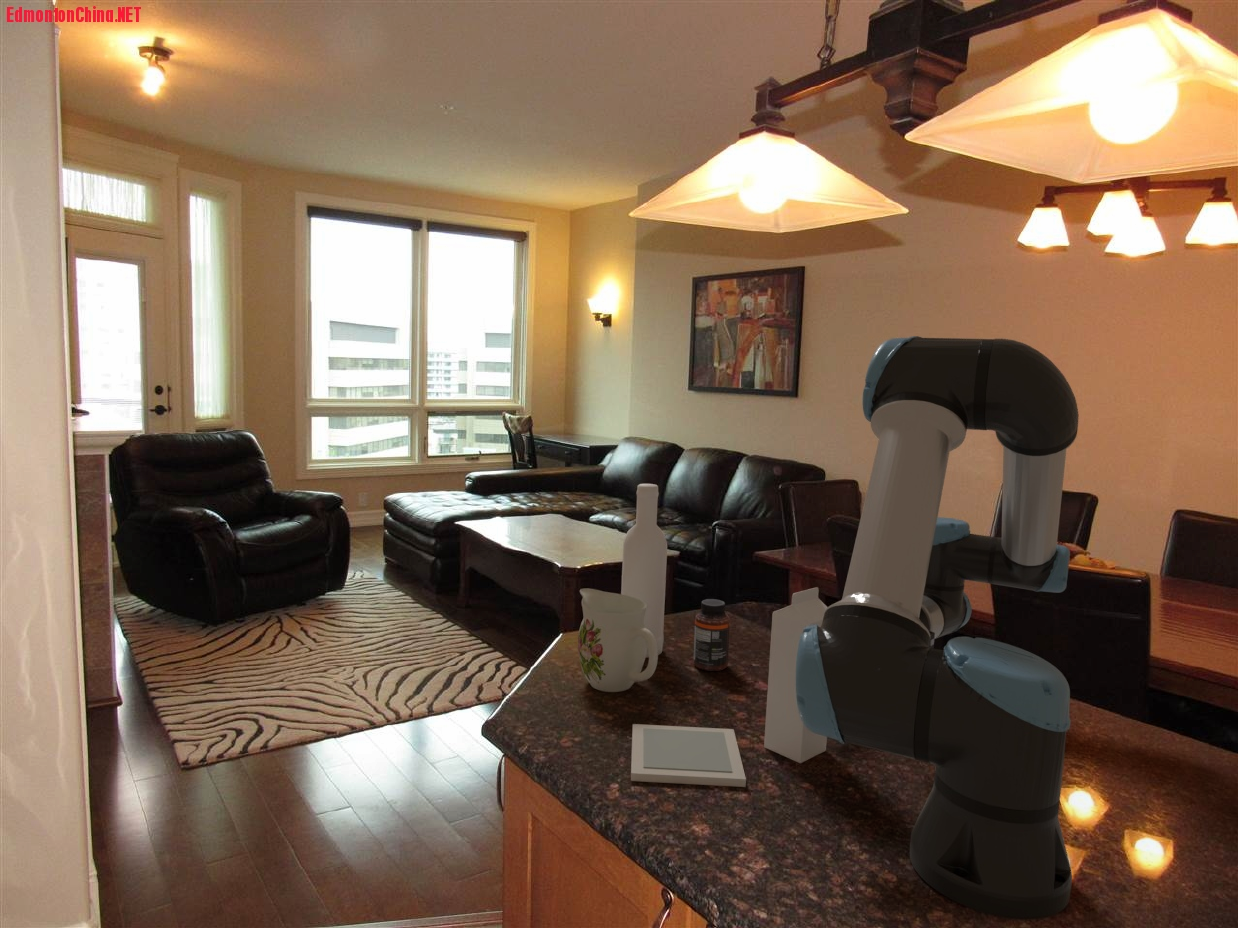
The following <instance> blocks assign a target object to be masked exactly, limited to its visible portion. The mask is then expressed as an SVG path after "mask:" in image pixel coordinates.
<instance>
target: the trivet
mask: <svg viewBox="0 0 1238 928" xmlns="http://www.w3.org/2000/svg"><path fill="white" fill-rule="evenodd" d="M631 735H632V736H631V763H630V764H631V766H630V782H642V783H643V782H644V783H645V782H647V783H660V784H661V783H664V784H680V785H681V784H682V785H683V784H684V785H701V786H703V785H704V786H716V787H717V786H719V787H735V788H736V787H738V788H740V787H741V788H746V785H747V782H746V781H747V777H746V775H745V771H744V766H743V762H742V758H741V753H740V750H739V746H738V743H737V737H736V734H735V730H734V728H719V727H718V728H714V727H713V728H712V727H700V726H699V727H695V726H679V725H659V724H658V725H657V724H640V723H637V724H636V723H632V734H631Z"/></svg>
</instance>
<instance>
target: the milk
mask: <svg viewBox="0 0 1238 928" xmlns="http://www.w3.org/2000/svg"><path fill="white" fill-rule="evenodd" d="M819 589H820V588H819V587H818V586H817V587H813V588H809V589H805V590H801V591H798V592H794V593H792V596H791V604H790V605H788V606H785V607H783V608H781V609H777V610H774V611H772V616H771V617H772V619H771V632H770V648H769V649H770V650H769V661H768V663H769V664H768V676H767V677H768V679H767V680H768V681H767V696H766V711H765V725H764V728H765V729H764V740H763V741H764V744H763V748H765V749H767V750H769V751H771V752H774V753H776V754H779V756H783V757H786V758H787V759H789V760H791V761H794V762H796V763H799V764H803V763H804V762H807V761H808V760H810V759H813V758H814V757H816V756H819V755H820V754H822V753H824V752H826V751H827V743H828V742H827V741H828V737H825V736H822V735H819V734H816V733H813V732H811V731H810V730H809V729H807V728H806V726H805V725H804V724H803V722H802V720H801V718H800V715H799V711H798V706H797V699H796V660H797V652H798V645H799V641H800V637H801V635H802V634H803V630H804V629H805V627H807V626H812V625H814V624H815V625H818V626H819V627H821V625H822V622H823V618H824V613H825V610H826V609H827V608H828V607H829V606H827V605H826V604H825V603H824V602H823V601H822V600H821V599H820V598H819Z"/></svg>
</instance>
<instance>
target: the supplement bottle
mask: <svg viewBox="0 0 1238 928" xmlns="http://www.w3.org/2000/svg"><path fill="white" fill-rule="evenodd" d="M700 606H701V607H700V611H699V612H698V613H697V614H696V615H695V618H694V639H693V642H694V643H693V649H692V650H693V665H694V667H696V668H698V669H700V670H701V671H706V672H707V671H708V672H719V671H723V670H725V669H726V668H727V667H728V665H729V652H730V651H729V649H730V629H731V618H730V616H729V615H728V614H727V613H726V603H725V601H723V600H720V599H716V598H715V599H714V598H706V599H703V600H702V601H701V605H700Z"/></svg>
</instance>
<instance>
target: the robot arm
mask: <svg viewBox="0 0 1238 928" xmlns="http://www.w3.org/2000/svg"><path fill="white" fill-rule="evenodd" d="M864 381H865V385H864V388H863V390H862V411H863V415H864V418H865V419H866V421H867V422H869V423H870V429H871V430H872V432H873V434H874V435H875V436H876V438H877V439H878V443H877V446H876V450H875V453H874V460H873V463H872V468H871V472H870V477H869V481H868V485H867V490H866V495H865V498H864V501H863V502H864V503H863V508H862V511H861V516H860V520H859V523H858V529H857V533H856V537H855V542H854V546H853V551H852V555H851V559H850V563H849V568H848V571H847V577H846V581H845V584H844V588H843V589H844V590H843V593H842V598H841V600H838V601H836V602H835V603H832V604H831V605H829V606H827V607H828V608H827V609H826V610H825V613H824V618H823V622H822V625H821V627H819V626H818V625H815V624H814V625H812V626H807V627H805V629H804V630H803V634H802V635H801V637H800V641H799V645H798V652H797V660H796V699H797V706H798V711H799V715H800V718H801V720H802V722H803V724H804V725H805V726H806V728H807V729H809V730H810V731H811V732H813V733H816V734H819V735H822V736H825V737H827V738H828V739H833V740H836V741H838V742H839V743H840V744H843V745H845V744H846V743H847V744H852V745H854V746H858V747H863V748H867V749H871V750H875V751H879V752H883V753H887V754H890V755H895V756H899V757H904V758H908V759H911V760H914V761H919V762H922V763H923V762H924V763H926V764H931V765H934V777H933V785H932V788H931V791H930V792H929V794H928V796H927V799H926V800H925V802H924V804H923V807H922V809H921V810H920V813H919V815H918V817H917V819H916V821H915V823H914V826H913V828H912V831H911V835H910V845H909V860H910V863H911V864H912V865H911V866H912V867H913V869H914V870H915V871H916V873H917V874H918V875H919V876H920V878H922V880H923V881H924V882H925V883H926V884H928V885H929V886H930V887H931V888H933V889H934V890H935V891H937V892H939V894H941V895H943V896H944V897H947V898H948V899H950V900H952V901H954V902H956V903H958V904H960V905H962V906H964V907H967V908H968V909H972V910H975V911H978V912H980V913H984V914H988V915H992V916H995V917H1002V918H1005V919H1007V918H1008V919H1014V920H1015V919H1016V920H1037V919H1045V918H1048V917H1052V916H1055V915H1057V914H1059V913H1060V912H1062V911H1064V910H1065V908H1066V907H1067V906H1068V905H1069V902H1070V899H1071V892H1072V891H1071V890H1072V883H1073V875H1072V874H1073V873H1072V869H1071V863H1070V861H1069V857H1068V853H1067V848H1066V844H1065V840H1064V836H1063V832H1062V828H1061V824H1060V820H1059V819H1060V818H1059V812H1060V811H1059V809H1060V801H1061V793H1062V792H1061V791H1062V783H1063V782H1062V781H1063V771H1064V770H1063V769H1064V763H1065V762H1064V761H1065V750H1066V749H1065V748H1066V740H1067V731H1069V730H1070V727H1071V725H1072V724H1071V723H1072V721H1071V717H1070V701H1071V700H1070V697H1071V690H1070V685H1069V683H1068V681H1067V678H1066V677H1065V676H1064V674H1063V672H1061V671H1060V670H1059V669H1058V668H1057V667H1056V666H1055V665H1053V664H1052V663H1050V662H1049V661H1047V660H1046V659H1044V658H1042V657H1041V656H1038V655H1037V654H1034V653H1032V652H1030V651H1027V650H1025V649H1023V648H1020V647H1018V646H1015V645H1011V644H1009V643H1006V642H1002V641H999V640H993V639H989V638H985V637H975V638H973V637H971V636H957V637H953V638H951V639H949V640H948V641H947V643H946V645H945V646H944V647H943V649H938V648H934V646H935V640H936V639H938V638H940V637H944V636H946V635H951V634H953V633H955V632H957V631H958V630H959V629H961V628H962V627H964V626H965V625H966V624H967V623H968V622H969V621H970V618H971V615H972V605H971V601H970V599H969V597H968V595H967V594H966V593H965V583H966V582H965V581H970V582H977V583H983V584H984V583H985V584H990V585H997V586H1004V587H1009V588H1017V589H1023V590H1028V591H1034V592H1037V593H1039V592H1046V593H1055V594H1056V593H1058V594H1059V593H1063V592H1064V591H1065V590H1066V589H1067V585H1068V584H1067V582H1068V574H1069V565H1070V557H1071V550H1070V548H1068V546H1065V545H1062V544H1058V536H1059V527H1060V515H1061V505H1062V498H1063V497H1062V496H1063V487H1064V486H1063V485H1064V476H1065V467H1066V458H1067V449H1069V448H1070V447H1071V446H1072V445H1073V444H1074V442H1075V441H1076V438H1077V435H1078V431H1079V429H1078V428H1079V410H1078V402H1077V400H1076V395H1075V394H1074V392H1073V390H1072V389H1073V388H1072V387H1071V385H1070V384H1069V381H1068V380H1067V379H1066V376H1065V375H1064V374H1063V373H1062V371H1061V370H1060V369H1059V367H1058V366H1057V365H1056V364H1055V363H1053V361H1052V360H1051V359H1049V358H1048V357H1047V356H1046V355H1045V354H1043V353H1042V352H1040V351H1039V350H1037V349H1036V348H1034V347H1033V346H1031V345H1028V344H1026V343H1024V342H1020V341H1018V340H1014V339H1008V338H958V337H957V338H954V337H953V338H952V337H947V338H946V337H921V336H919V335H917V336H916V335H913V336H912V335H911V336H909V337H894V338H890V339H889V338H888V339H887V340H885V341H883V342H882V343H881V344H880V345H879V346H878V347H877V348H876V350H875V351H874V353H873V355H872V357H871V360H870V362H869V365H868V367H867V371H866V374H865V377H864ZM967 430H975V431H992V432H993V431H994V433H995V437H996V439H997V440H998V442H999V443H1000V445H1001V446H1002V447H1003V452H1002V454H1003V455H1002V497H1001V498H1002V500H1001V502H1002V503H1001V537H998V536H997V537H995V536H991V535H990V536H989V535H984V534H983V535H982V534H981V535H980V534H975V533H971V530H970V529H971V528H970V524H969V523H968V522H967V521H965V520H962V519H956V518H953V517H944V516H943V517H939V513H940V506H941V500H942V495H943V491H944V490H943V488H944V484H945V478H946V474H947V467H948V461H949V457H950V452H952V451H954V450H955V449H957V448H958V447H960V446H961V445H962V444H963V442H965V439H966V437H967Z"/></svg>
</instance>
